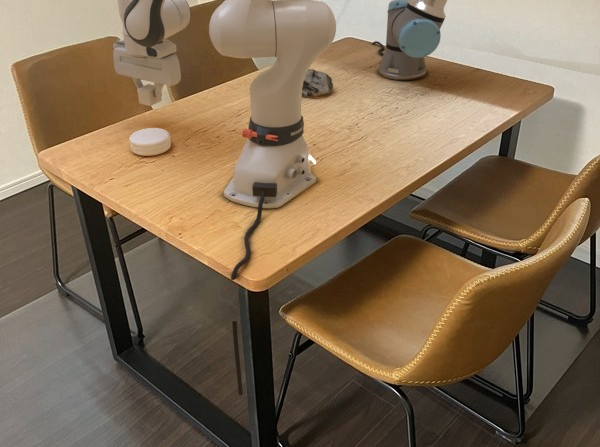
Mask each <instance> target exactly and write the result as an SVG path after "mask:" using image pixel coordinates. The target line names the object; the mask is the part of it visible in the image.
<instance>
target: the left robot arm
mask: <svg viewBox="0 0 600 447" xmlns="http://www.w3.org/2000/svg"><path fill="white" fill-rule="evenodd" d="M117 8H118V12H119V17H120V19H121V22H122V38H123V40H122V39H119V38H118V39H115V41H114V42H113V44H112V48H113V53H112V54H113V57H112V58H113V67H114V72H115V73H116V75H118V76H122V77H127V78H131V79H132V83H133V84H134V85H135V88H136V90H137V89H139V88H141V87H143V86H144V84H143V82H142V81H146V82H150V83H154V84H153V85H155V86H156V90H155V91H153V96H154V97H155V98H160V97H161V98H162V97H163V92H162V90H163V88H164V86H170V87H172V86H175V85H177V84H179V83H180V81H181V79H182V72H181V65H180V60H179V58H178V56H177V54H176V52H177V45H176V43H174V42H172V41H171V40H169V39H168V38H170V37H173V36H174V35H176V34H177V33H179V32H182V31H183V30H185V29H186V28H188V26H189V24H190V23H191V18H192V11H191V7H190V4H189V3H188V0H117ZM208 33H209V39H210V42H211V44H212V46H213V47H214V49H215V50H216V52H218V53H219V54H220V55H221V56H222V57H223V56H224V57H230V58H236V59H260V58H276V60H275V62H274V63H273V64H272V66H270V67H269V68H268V69H265V70H264V71H262V72H261V73H259V74H258V75H257V76H256V77H255V78H254V79H253V80H252V82H251V84H250V86H249V101H250V102H249V103H250V117H249V123H248V126H247V128H245V127H244V128H243V129H242V131H241V137H242V138H244V139H247V140H246V142H245V144H244V146H243V148H242V151H241V153H240V154H239V157H238V159H237V161H236V163H235V166H234V167H233V168H234V169H233V177H232V178H231V180H230V181H229V183H228V184H227V186H226V187H225V188H224V190H223V196H224V198H225V199H228V200H229V201H231V202H233V203H237V204H239V205H244V206H248V207H252V208H257V214H256V218H255V220H254V222H253V223H252V225H251V226H250V227H249V228H248V229H247V231H246V232H245V234H244V238H243V239H244V240H243V241H244V247H245V255H244V258H243V259H241V260H240V261H239V262H237V264H236V265H235V266H234V268H233V270H232V272H231V276H230V280H231V281H234V280H236V279H237V275H238V272H239V270H240V269H241V267H243V266H244V265H246V263H248V261H249V260H250V258H251V245H250V236H251V234H252V233H253V231H255V229H256V228H257V227H258V225H259V224H260V222H261V218H262V214H263V209H278V208H280V207H283V205H285V204H286V203H288V202H289V201H292V199H294V198H295V197H296V196H298V195H299V194H301V193H303V192H304V191H305V190H307V189H308V188H309V187H311V186H313V185H314V184H316V182H317V176H316V175H315V174H314V173H312V167H311V162H312V163H313V165H317V161H316V159H314V157H313V156H312V155H311V154H310V147H309V145H308V144H307V142H306V140H305V138H304V133H305V132H304V131H305V130H304V127H305V121H304V116H303V115H302V98H303V96H302V87H303V82H304V78H305V76H306V73H307V71H308V69H310V68H311V66H312V65H313V64H314V62H315V61H316V59H318V57H320V56H321V55H322V54H323V53H324V52H325V51H327V50H328V49H329V48H330V46H331V45H332V43H333V41H334V40H335V37H336V33H337V21H336V17H335V14H334V12H333V10H332V9H331V7H330V6H329V5H328V4H327V3H326V2H324V1H319V0H224V1H223V2H222V3H221V4H220V5H218V6H217V8H216V9H215V10H214V12H213V13H212V15H211V17H210V20H209V24H208ZM231 323H232V324H231V326H232V340H233V350H234V352H233V353H234V361H235V370H236V380H237V381H236V382H237V392H238V395H239V396H242V395H244V393H243V392H244V391H243V390H244V389H243V380H242V368H241V359H240V358H241V357H240V348H239V336H238V335H239V333H238V321H237V320H234V321H233V320H232V321H231Z"/></svg>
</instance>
